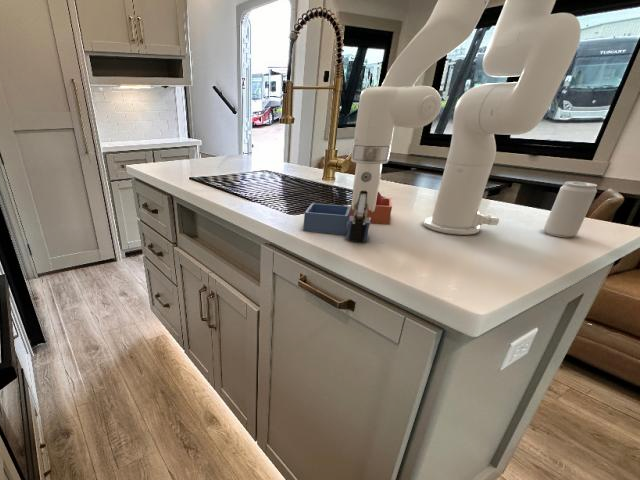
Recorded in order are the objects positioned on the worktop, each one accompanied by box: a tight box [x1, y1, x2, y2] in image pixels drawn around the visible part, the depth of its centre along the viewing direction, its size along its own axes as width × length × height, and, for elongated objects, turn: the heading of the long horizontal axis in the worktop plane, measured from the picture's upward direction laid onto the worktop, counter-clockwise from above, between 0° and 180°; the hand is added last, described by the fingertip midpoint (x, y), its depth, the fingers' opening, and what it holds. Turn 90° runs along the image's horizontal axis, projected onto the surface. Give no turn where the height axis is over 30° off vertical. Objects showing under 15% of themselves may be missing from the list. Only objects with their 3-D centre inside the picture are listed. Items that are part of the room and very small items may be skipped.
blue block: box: [345, 216, 371, 243], centre depth 83 cm, size 4×4×4 cm
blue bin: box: [302, 202, 351, 236], centre depth 91 cm, size 10×10×5 cm
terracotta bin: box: [349, 197, 393, 225], centre depth 99 cm, size 10×10×5 cm
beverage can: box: [543, 180, 598, 238], centre depth 84 cm, size 6×6×12 cm
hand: (357, 236), depth 84 cm, fingers closed on blue block, 4 cm apart
